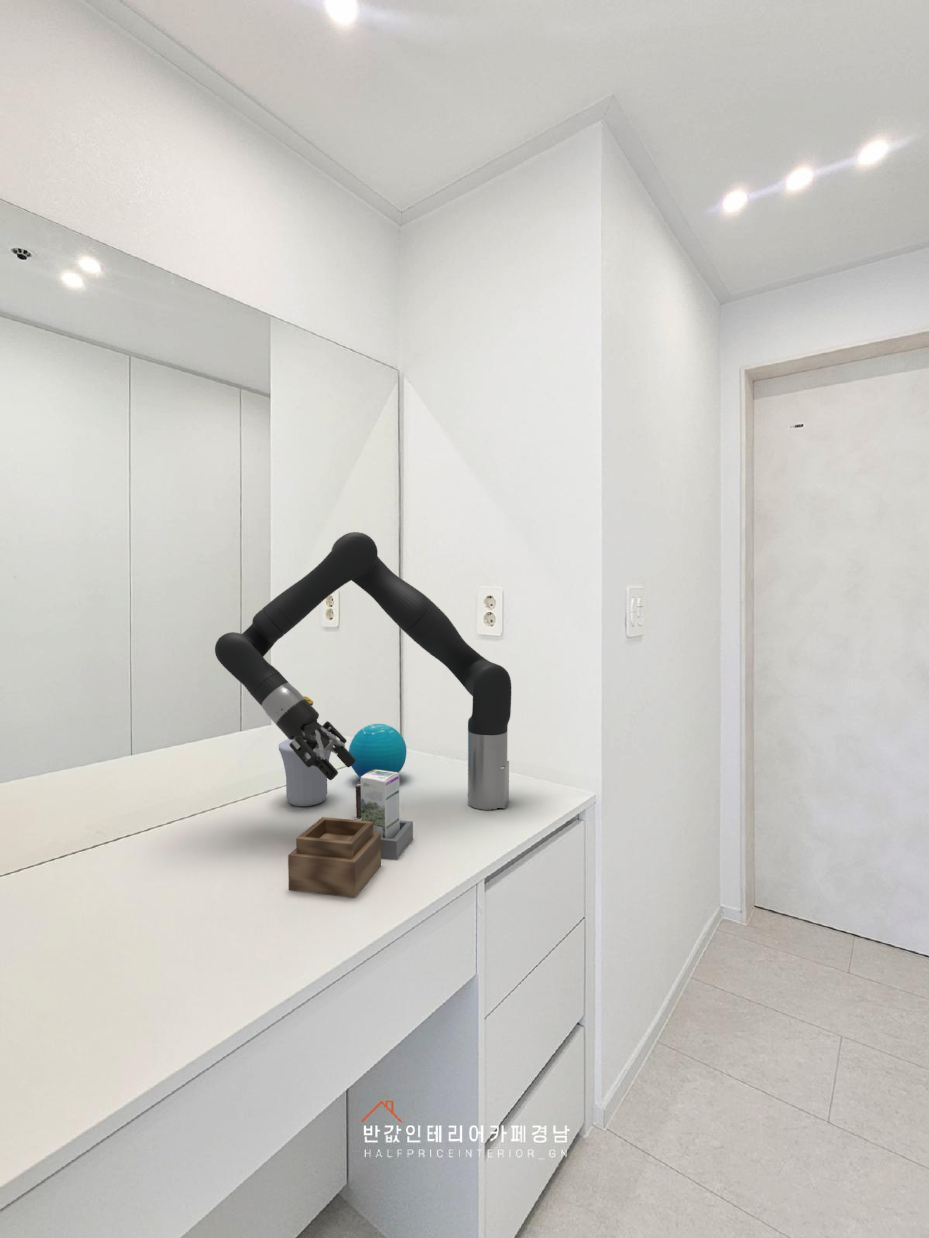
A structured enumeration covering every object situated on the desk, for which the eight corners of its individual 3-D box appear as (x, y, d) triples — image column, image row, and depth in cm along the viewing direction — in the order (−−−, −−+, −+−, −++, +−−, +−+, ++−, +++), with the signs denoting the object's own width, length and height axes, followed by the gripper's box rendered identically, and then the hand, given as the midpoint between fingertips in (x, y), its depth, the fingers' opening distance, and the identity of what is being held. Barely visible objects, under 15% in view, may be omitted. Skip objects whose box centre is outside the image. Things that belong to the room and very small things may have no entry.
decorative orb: (417, 776, 167) (416, 721, 166) (387, 793, 153) (387, 733, 153) (369, 769, 173) (368, 716, 172) (337, 785, 160) (336, 727, 159)
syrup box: (401, 842, 125) (400, 771, 124) (385, 854, 119) (384, 779, 118) (376, 838, 127) (376, 767, 126) (360, 849, 122) (359, 775, 121)
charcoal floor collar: (412, 838, 127) (412, 821, 127) (396, 859, 117) (396, 841, 117) (366, 833, 129) (366, 817, 129) (346, 854, 119) (346, 836, 119)
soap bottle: (285, 814, 140) (283, 705, 138) (274, 797, 151) (272, 696, 150) (340, 805, 146) (339, 700, 144) (326, 789, 157) (325, 691, 155)
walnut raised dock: (381, 865, 115) (380, 819, 114) (355, 897, 103) (354, 847, 102) (320, 859, 117) (319, 814, 117) (288, 889, 106) (287, 840, 105)
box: (388, 809, 143) (388, 777, 143) (382, 819, 137) (382, 786, 137) (362, 808, 144) (362, 777, 143) (355, 818, 138) (355, 785, 137)
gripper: (283, 705, 118) (341, 768, 116) (318, 692, 132) (369, 748, 130) (259, 731, 120) (315, 794, 118) (295, 715, 134) (346, 772, 132)
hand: (343, 770), depth 124 cm, fingers open, 8 cm apart
